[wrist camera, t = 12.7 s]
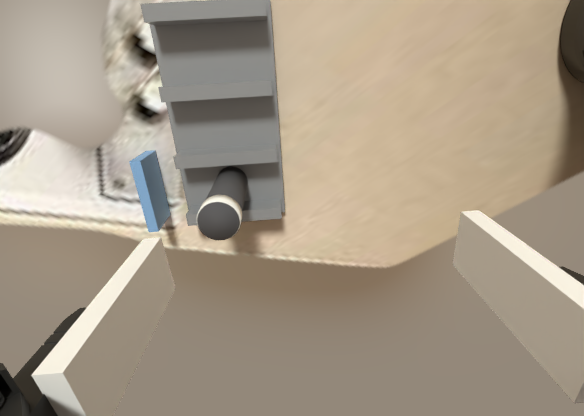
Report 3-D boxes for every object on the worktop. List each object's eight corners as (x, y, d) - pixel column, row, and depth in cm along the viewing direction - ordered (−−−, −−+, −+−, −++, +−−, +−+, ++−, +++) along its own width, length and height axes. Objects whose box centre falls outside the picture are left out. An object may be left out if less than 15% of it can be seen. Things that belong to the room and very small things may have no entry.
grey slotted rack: (270, -1, 34) (270, -9, 30) (284, 209, 44) (285, 221, 40) (148, 5, 33) (133, -2, 30) (192, 215, 43) (184, 229, 40)
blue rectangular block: (155, 150, 39) (140, 161, 35) (170, 214, 43) (158, 231, 39) (145, 151, 39) (129, 161, 35) (161, 215, 43) (148, 232, 39)
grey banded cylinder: (246, 164, 40) (237, 200, 29) (250, 195, 42) (242, 239, 31) (213, 166, 40) (192, 203, 29) (218, 197, 41) (200, 242, 30)
